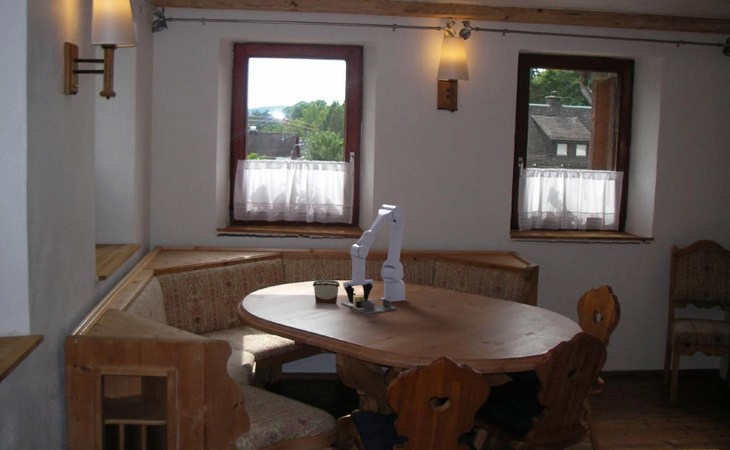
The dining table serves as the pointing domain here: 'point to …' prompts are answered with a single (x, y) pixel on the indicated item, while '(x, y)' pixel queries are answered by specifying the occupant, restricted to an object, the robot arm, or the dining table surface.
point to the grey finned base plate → (387, 305)
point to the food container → (326, 291)
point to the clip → (357, 298)
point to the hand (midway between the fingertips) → (358, 301)
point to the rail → (364, 306)
